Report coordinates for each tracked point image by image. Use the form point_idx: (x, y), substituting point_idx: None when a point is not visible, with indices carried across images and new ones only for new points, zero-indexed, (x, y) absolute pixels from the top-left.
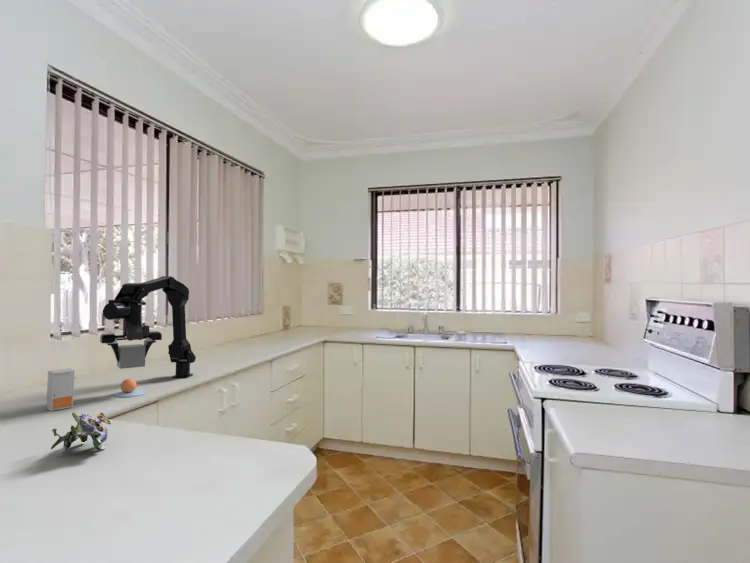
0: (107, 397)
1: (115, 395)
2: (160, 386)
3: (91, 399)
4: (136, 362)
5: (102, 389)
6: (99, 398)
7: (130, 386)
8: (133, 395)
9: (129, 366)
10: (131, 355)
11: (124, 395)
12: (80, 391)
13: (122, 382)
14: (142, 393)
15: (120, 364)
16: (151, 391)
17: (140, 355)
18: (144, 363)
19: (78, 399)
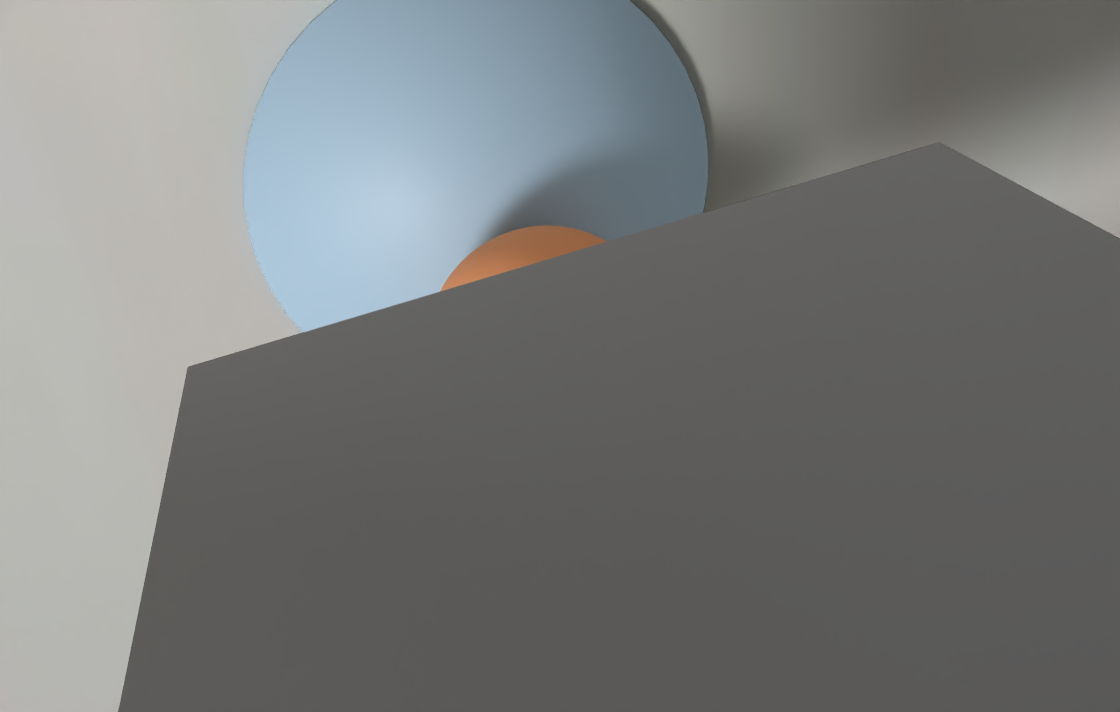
0: (784, 82)
1: (688, 128)
2: (107, 547)
3: (973, 34)
4: (502, 375)
5: None
6: (881, 57)
7: (511, 252)
8: (418, 23)
9: (698, 237)
10: (864, 553)
11: (563, 82)
12: None
13: None
14: (285, 129)
15: (1037, 198)
16: (167, 274)
17: (378, 681)
18: (196, 435)
19: (1093, 100)
